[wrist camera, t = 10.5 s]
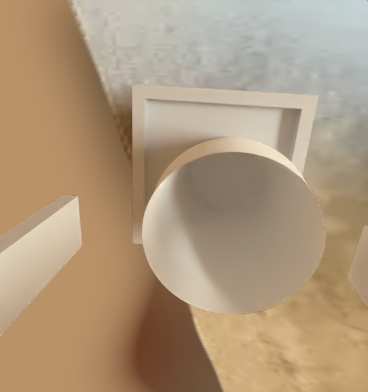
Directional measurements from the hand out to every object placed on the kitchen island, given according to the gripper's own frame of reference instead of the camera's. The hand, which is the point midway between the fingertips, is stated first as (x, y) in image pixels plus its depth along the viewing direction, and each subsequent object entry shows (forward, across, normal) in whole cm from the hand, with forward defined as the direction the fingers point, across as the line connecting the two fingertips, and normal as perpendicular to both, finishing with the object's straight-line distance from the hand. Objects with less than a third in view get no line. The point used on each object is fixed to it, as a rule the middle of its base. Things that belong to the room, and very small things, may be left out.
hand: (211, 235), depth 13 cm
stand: (+21, 0, -1) cm, 21 cm away
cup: (+12, +1, 0) cm, 13 cm away
